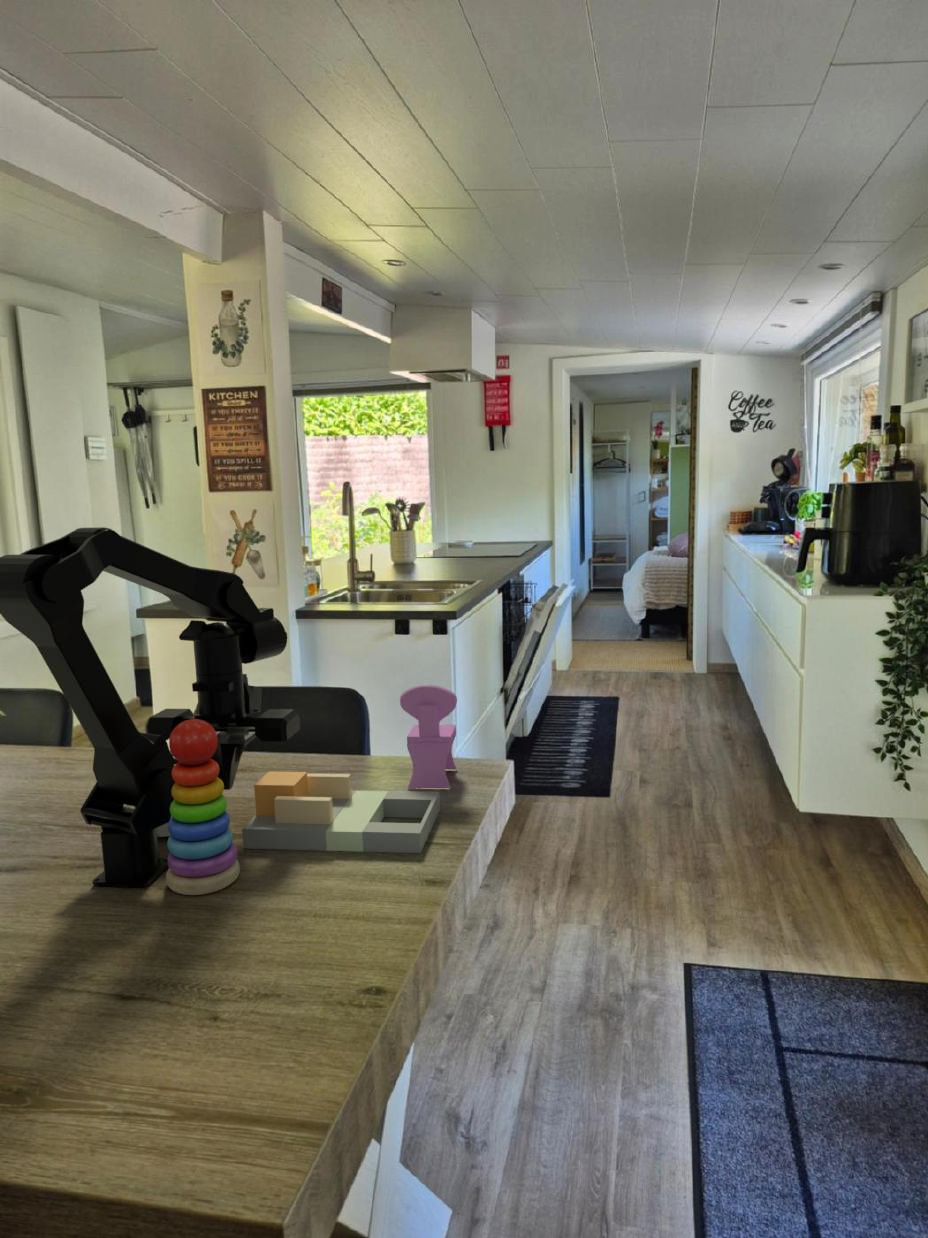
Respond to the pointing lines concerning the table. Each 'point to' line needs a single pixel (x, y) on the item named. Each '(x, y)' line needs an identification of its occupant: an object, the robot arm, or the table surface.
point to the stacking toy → (198, 815)
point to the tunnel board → (344, 819)
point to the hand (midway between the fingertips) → (228, 788)
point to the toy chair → (430, 735)
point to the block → (278, 789)
